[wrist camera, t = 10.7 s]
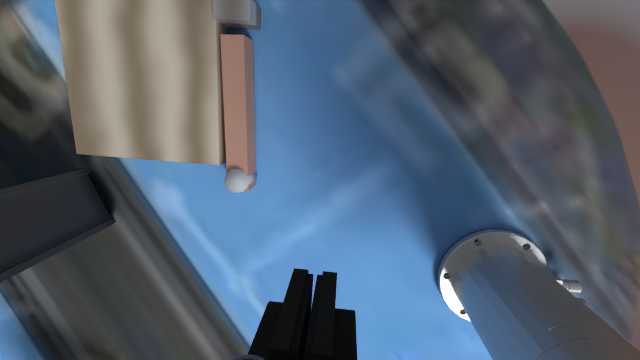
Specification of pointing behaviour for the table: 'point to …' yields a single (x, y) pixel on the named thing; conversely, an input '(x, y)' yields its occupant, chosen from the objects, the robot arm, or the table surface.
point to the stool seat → (149, 75)
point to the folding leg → (238, 111)
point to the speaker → (47, 219)
